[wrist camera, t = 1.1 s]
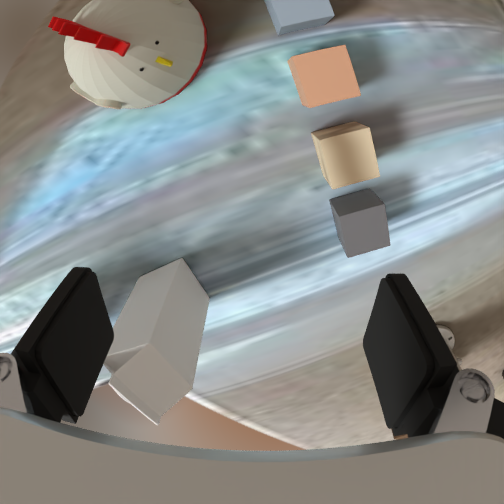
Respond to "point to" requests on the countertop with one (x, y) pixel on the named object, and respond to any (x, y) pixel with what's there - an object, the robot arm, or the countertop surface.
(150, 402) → the milk carton
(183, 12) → the kitchen timer
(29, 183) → the countertop surface
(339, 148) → the maple block
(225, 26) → the countertop surface
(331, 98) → the terracotta block
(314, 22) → the slate block
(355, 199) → the charcoal block
